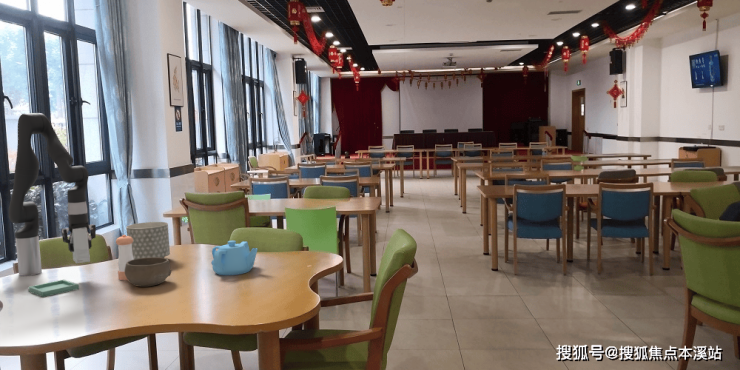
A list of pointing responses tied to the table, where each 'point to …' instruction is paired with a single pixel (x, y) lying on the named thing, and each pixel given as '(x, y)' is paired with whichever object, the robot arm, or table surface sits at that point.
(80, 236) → the skincare box
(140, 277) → the bowl
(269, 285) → the table surface
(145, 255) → the planter
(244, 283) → the table surface
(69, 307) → the table surface
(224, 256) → the teapot
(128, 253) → the salt shaker
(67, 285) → the tray
